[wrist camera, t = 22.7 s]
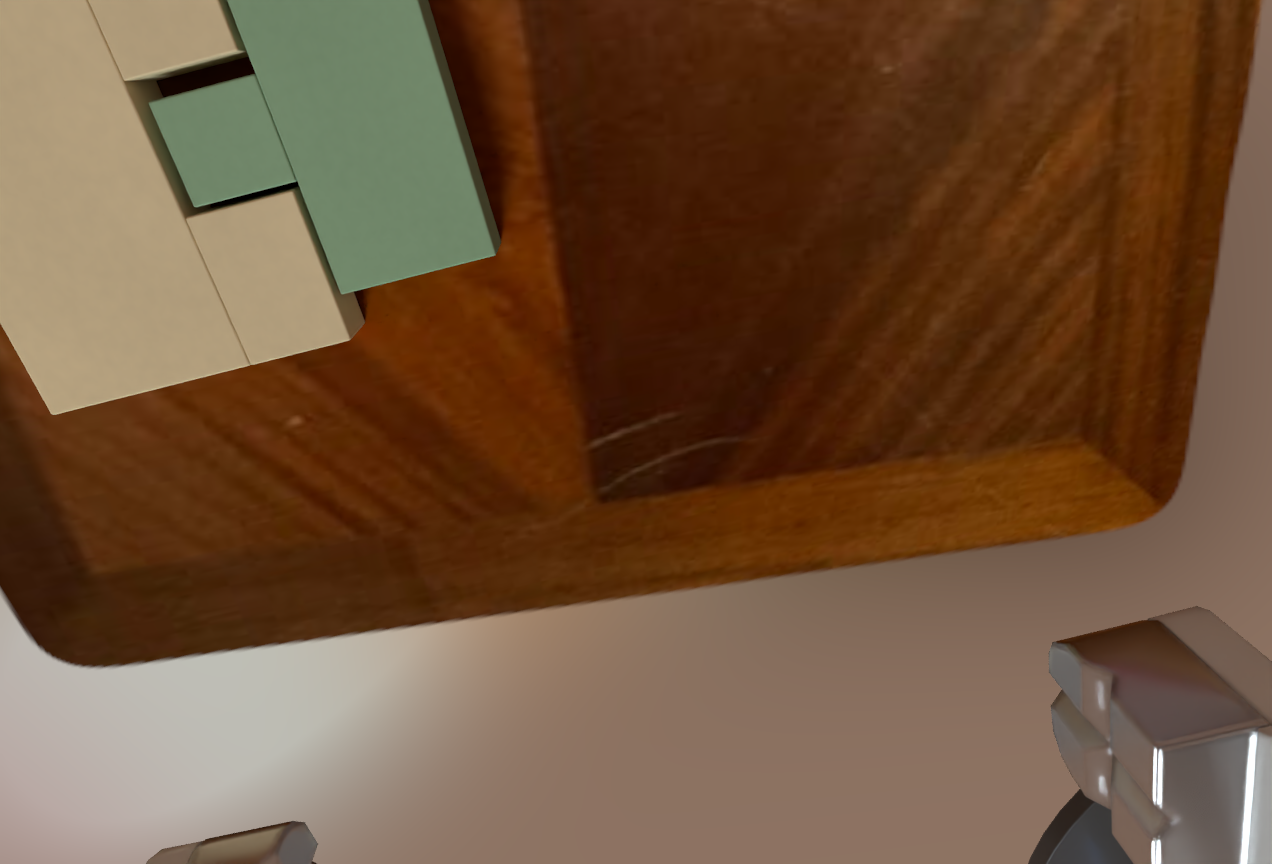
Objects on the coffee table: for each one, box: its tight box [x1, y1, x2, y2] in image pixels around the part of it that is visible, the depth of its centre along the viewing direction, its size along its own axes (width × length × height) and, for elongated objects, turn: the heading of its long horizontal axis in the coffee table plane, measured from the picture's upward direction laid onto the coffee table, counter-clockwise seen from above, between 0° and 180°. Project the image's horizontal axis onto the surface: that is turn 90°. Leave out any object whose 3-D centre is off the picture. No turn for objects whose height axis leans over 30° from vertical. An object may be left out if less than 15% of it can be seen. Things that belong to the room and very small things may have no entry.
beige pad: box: [0, 0, 365, 415], centre depth 30 cm, size 16×12×2 cm
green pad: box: [149, 0, 501, 294], centre depth 30 cm, size 12×10×2 cm
